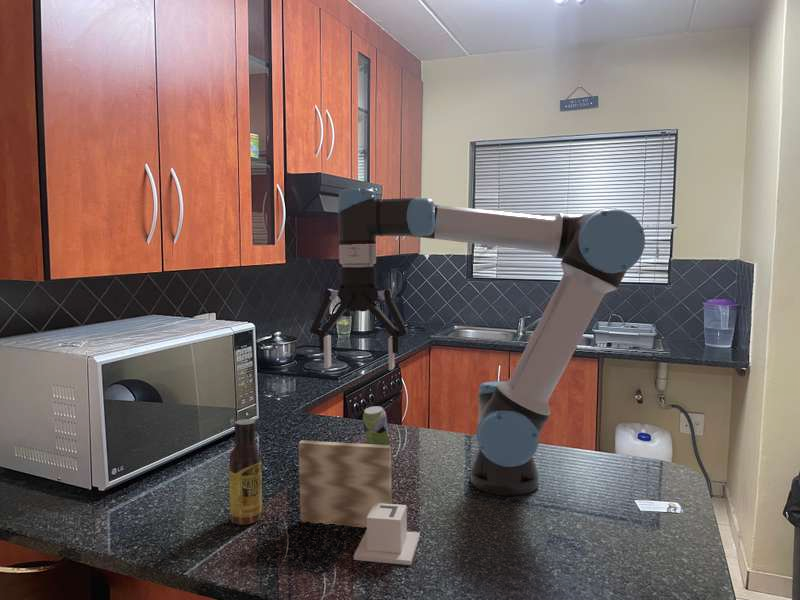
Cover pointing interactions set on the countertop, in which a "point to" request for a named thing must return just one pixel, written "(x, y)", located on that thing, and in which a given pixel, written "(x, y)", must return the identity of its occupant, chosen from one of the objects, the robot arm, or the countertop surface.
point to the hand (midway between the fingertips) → (359, 368)
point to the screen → (342, 481)
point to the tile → (389, 557)
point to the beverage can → (376, 426)
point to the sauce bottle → (245, 476)
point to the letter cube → (386, 527)
